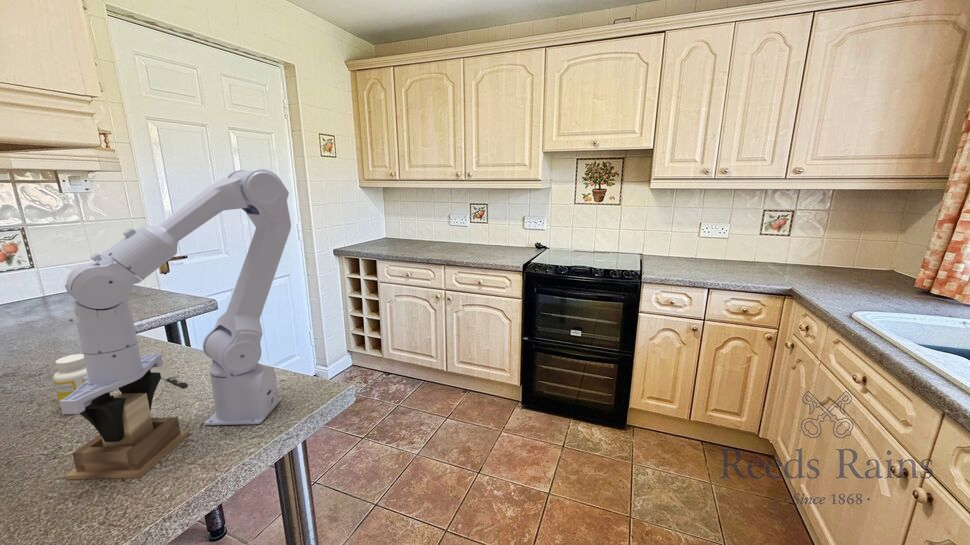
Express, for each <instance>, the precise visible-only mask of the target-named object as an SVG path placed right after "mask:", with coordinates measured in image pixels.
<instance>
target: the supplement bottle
mask: <svg viewBox="0 0 970 545" xmlns="http://www.w3.org/2000/svg"><path fill="white" fill-rule="evenodd" d="M55 367H56V369H57V371H56V373H54V375H53V378H52V379H53V384H54V387H55V391H56V395H57V399H58V403H59V404H58V405H59V407H60V410H61V406H60V401H61V400H62V399H64V398H66V397H67V396H69V395H70V394H72V393H73V392H74V391H75V390H76V389H77V388H79V387H80V386H81V385H82V384H83V383H85V382H84V379H83V377H85V376H87V375H88V374H87V369H86V365H85V360H84V355H83V353H77V354H71V355H67V356H63V357H61V358H58V359H56V360H55ZM61 412H62V410H61Z"/></svg>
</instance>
